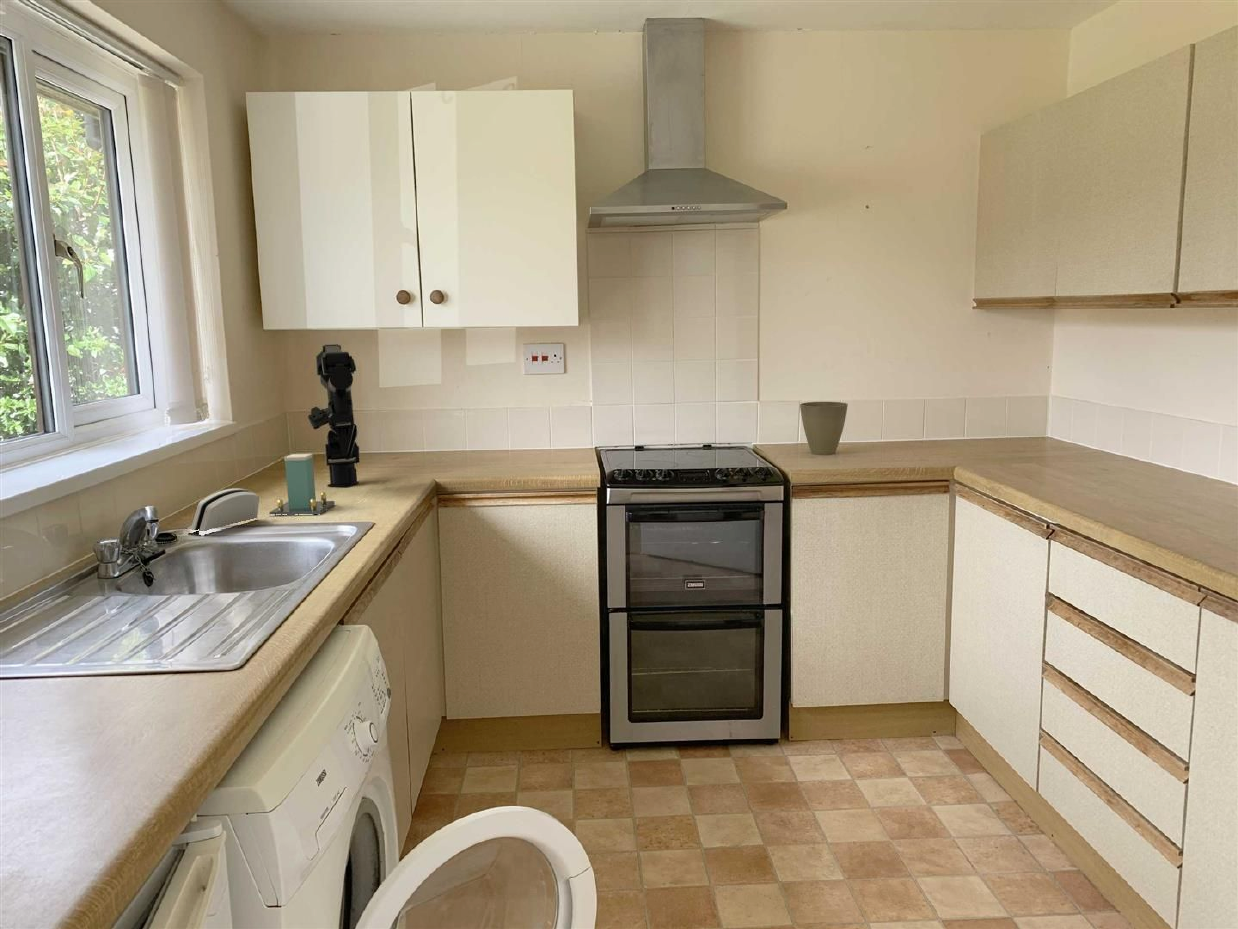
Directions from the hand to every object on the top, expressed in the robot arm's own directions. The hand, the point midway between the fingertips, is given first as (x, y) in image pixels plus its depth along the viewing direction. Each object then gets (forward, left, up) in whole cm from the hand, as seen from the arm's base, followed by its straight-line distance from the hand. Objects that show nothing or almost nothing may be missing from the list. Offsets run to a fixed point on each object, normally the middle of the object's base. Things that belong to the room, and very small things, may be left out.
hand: (346, 456), depth 241 cm
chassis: (-3, -17, -11) cm, 20 cm away
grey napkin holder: (-9, -36, -11) cm, 39 cm away
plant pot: (+116, +90, -11) cm, 148 cm away
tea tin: (-3, -17, -10) cm, 19 cm away
